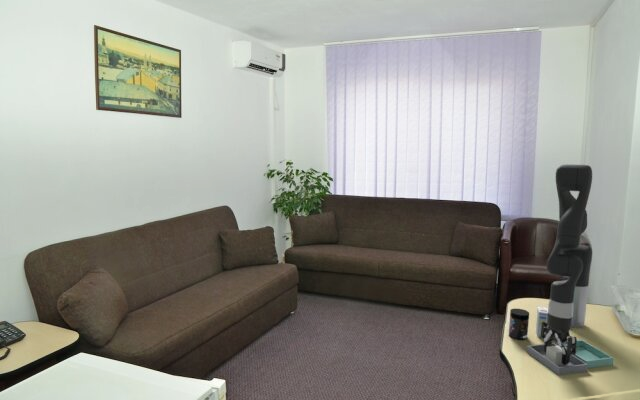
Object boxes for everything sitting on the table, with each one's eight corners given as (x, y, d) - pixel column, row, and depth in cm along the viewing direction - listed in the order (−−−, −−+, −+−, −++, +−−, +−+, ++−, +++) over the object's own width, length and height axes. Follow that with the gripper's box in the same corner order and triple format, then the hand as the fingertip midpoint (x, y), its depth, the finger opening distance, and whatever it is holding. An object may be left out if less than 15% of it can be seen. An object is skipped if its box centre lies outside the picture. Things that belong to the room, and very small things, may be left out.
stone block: (545, 358, 162) (546, 346, 162) (556, 357, 163) (558, 345, 163) (554, 365, 158) (555, 352, 157) (566, 363, 159) (567, 351, 158)
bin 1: (526, 353, 167) (527, 345, 167) (553, 350, 170) (553, 342, 169) (558, 376, 152) (559, 368, 151) (587, 373, 154) (588, 364, 154)
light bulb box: (564, 335, 182) (567, 309, 181) (567, 342, 176) (570, 315, 174) (534, 331, 186) (536, 305, 184) (536, 338, 179) (538, 311, 178)
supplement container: (514, 332, 185) (516, 307, 183) (531, 338, 179) (533, 312, 177) (504, 336, 181) (506, 310, 179) (520, 343, 175) (522, 316, 174)
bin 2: (555, 350, 170) (556, 342, 169) (581, 347, 172) (582, 339, 172) (585, 369, 156) (586, 361, 156) (613, 366, 159) (613, 357, 158)
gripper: (536, 305, 164) (532, 349, 167) (566, 322, 150) (561, 369, 153) (555, 304, 166) (551, 347, 168) (586, 320, 152) (581, 367, 154)
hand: (556, 357), depth 160 cm, fingers open, 8 cm apart
